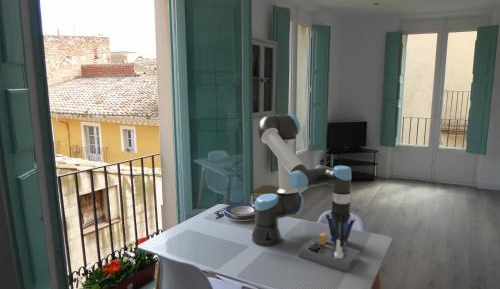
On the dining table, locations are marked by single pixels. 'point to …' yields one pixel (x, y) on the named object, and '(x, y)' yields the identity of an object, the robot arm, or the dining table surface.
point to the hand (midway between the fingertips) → (338, 252)
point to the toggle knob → (322, 238)
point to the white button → (339, 255)
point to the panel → (330, 255)
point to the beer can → (339, 231)
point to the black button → (314, 246)
